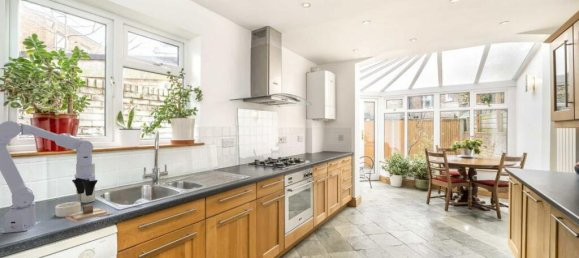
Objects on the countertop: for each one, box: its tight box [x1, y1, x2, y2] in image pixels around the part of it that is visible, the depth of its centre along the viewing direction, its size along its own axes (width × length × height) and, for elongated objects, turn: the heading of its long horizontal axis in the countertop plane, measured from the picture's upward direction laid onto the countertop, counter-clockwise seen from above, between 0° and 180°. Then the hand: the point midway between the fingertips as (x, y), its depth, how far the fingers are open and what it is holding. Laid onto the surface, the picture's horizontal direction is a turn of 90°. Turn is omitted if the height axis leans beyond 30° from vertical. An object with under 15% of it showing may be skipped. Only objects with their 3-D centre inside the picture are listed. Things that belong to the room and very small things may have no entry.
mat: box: [63, 207, 111, 223], centre depth 120 cm, size 14×14×1 cm
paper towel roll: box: [75, 162, 96, 204], centre depth 142 cm, size 7×6×21 cm
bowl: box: [54, 201, 82, 218], centre depth 122 cm, size 9×9×4 cm
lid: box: [69, 203, 107, 222], centre depth 120 cm, size 11×11×4 cm
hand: (85, 194), depth 121 cm, fingers open, 7 cm apart
